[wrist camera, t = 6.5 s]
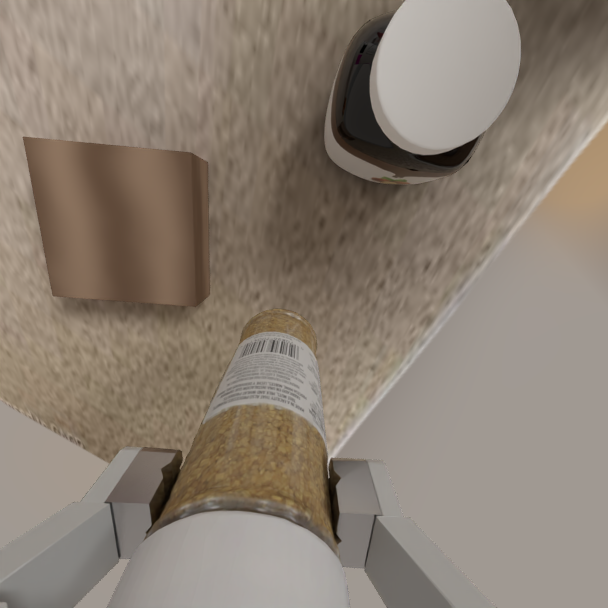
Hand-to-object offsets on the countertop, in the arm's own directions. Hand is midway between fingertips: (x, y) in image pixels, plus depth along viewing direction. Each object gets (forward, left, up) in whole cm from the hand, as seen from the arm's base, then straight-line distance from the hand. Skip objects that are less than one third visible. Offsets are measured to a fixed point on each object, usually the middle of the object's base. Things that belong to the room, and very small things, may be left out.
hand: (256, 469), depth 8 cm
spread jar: (-8, -16, -21) cm, 28 cm away
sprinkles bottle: (0, 0, -9) cm, 9 cm away
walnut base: (+14, -5, -21) cm, 26 cm away
